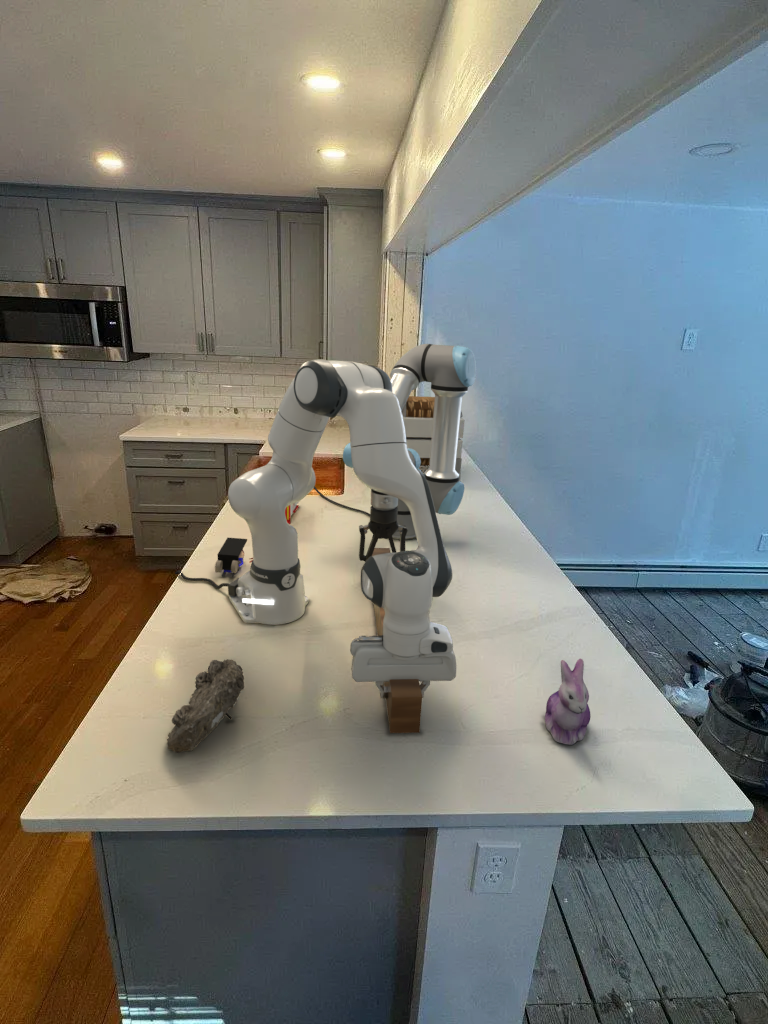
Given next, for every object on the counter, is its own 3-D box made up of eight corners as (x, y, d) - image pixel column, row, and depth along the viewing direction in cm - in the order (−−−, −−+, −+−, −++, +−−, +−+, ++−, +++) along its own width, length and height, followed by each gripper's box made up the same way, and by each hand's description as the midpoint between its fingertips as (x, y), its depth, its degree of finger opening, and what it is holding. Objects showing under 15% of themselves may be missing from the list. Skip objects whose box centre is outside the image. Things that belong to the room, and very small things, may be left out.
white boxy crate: (382, 463, 289) (386, 382, 275) (445, 464, 293) (451, 384, 279) (390, 482, 257) (394, 392, 243) (460, 483, 261) (468, 394, 247)
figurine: (568, 754, 103) (581, 685, 97) (530, 719, 111) (540, 654, 106) (605, 739, 107) (619, 671, 102) (565, 706, 115) (577, 642, 110)
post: (369, 572, 170) (370, 547, 167) (388, 573, 170) (389, 547, 167) (390, 733, 106) (392, 697, 103) (419, 732, 106) (422, 696, 104)
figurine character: (238, 584, 162) (249, 557, 175) (236, 562, 158) (247, 536, 172) (215, 584, 161) (227, 556, 175) (212, 561, 158) (225, 535, 171)
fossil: (192, 660, 117) (244, 628, 112) (224, 691, 120) (276, 661, 115) (142, 746, 98) (202, 712, 93) (182, 779, 101) (242, 748, 96)
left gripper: (351, 645, 103) (349, 708, 108) (461, 644, 105) (455, 706, 110) (350, 627, 109) (348, 687, 114) (454, 626, 111) (449, 685, 116)
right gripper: (350, 510, 151) (348, 588, 159) (419, 511, 153) (414, 588, 160) (349, 501, 158) (348, 576, 166) (416, 502, 160) (411, 576, 167)
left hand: (401, 696), depth 112 cm, fingers closed on post, 5 cm apart
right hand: (380, 581), depth 163 cm, fingers closed on post, 6 cm apart
